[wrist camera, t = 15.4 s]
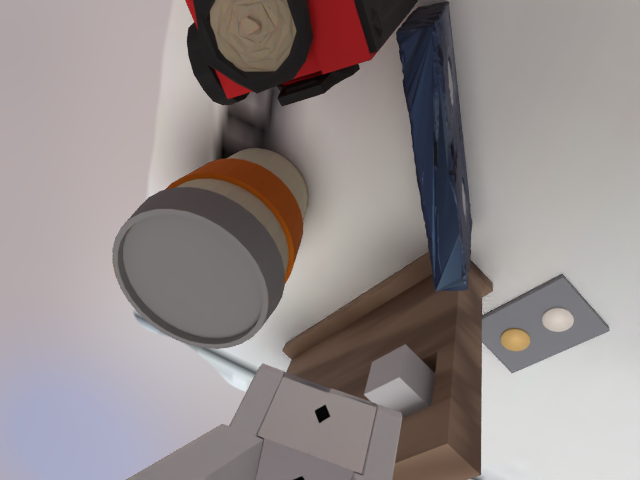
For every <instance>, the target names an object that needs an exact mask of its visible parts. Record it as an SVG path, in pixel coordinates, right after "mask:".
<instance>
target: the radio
mask: <svg viewBox="0 0 640 480" xmlns="http://www.w3.org/2000/svg"><path fill="white" fill-rule="evenodd" d="M185 1H186V3H187V6H188V8H189V10H190V13H191V15H192V17H193V20H194V23H193V24H192V25H191V26H190V27H189V28H188V36H187V47H188V55H189V59H190V63H191V66H192V69H193V73H194V75H195V77H196V78H197V80H198V82H199V83H200V85H201V87H202V88H203V90H204V91H205V92H206V93H207V95H208V96H209V97H210V98H211V99H212V101H214V102H216V103H219V104H221V105H232V104H234V103H236V102H239V101H241V100H243V99H245V98H246V97H247V95H248V94H249V93H250V92H256V93H259V92H262V91H264V90H267V89H269V88H272V87H274V86H277V87H278V88H279V90H280V91H281V92H280V94H279V96H278V100H279V102H280V104H281V106H285V105H288V104H291V103H294V102H298V101H301V100H304V99H307V98H311V97H314V96H317V95H320V94H324V93H325V92H326V91H327V90H329V89H330V88H331V87H332V86H334V85H335V84H337V83H339V82H340V81H342V80H344V79H346V78H348V77H350V76H351V75H353V74H354V73H355V72H357V71H358V70H359V65H358V64H359V63H362V62H365V61H369V60H371V59H372V58H373V57H374V56H375V54H376V53H377V52H378V51H379V49H380V48H381V47H382V46H383V44H384V43H385V42H386V41H387V39H388V38H389V37H390V36H391V34H392V33H393V32H394V31H395V29H396V28H397V27H398V26H399V24H400V23H401V22H402V21H403V19H404V18H405V17H406V16H407V14H408V13H409V12H410V11H411V9H412V8H413V7H414V6H415V4H416V3H417V2H418V0H185Z"/></svg>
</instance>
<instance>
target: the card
mask: <svg viewBox="0 0 640 480" xmlns="http://www.w3.org/2000/svg"><path fill="white" fill-rule="evenodd" d="M608 331H610V330H609V327H608V326H607V325H606V324H605V322H604V321H603V320H602V319H601V318H600V317H599V316H598V314H597V313H596V312H595V311H594V310H593V309H592V308H591V306H590V305H589V304H588V303H587V302H586V301H585V300H584V298H583V297H582V296H581V295H580V294H579V293H578V292H577V290H576V289H575V288H574V287H573V286H572V285H571V284H570V282H569V281H568V280H567V279H566V278H565V277H564V276H563V274H562V275H560V276H558V277H556V278H554V279H552V280H551V281H549V282H547V283H545V284H543V285H541V286H539V287H537V288H535V289H533V290H531V291H529V292H528V293H526V294H524V295H522V296H520V297H518V298H516V299H514V300H512V301H510V302H508V303H506V304H504V305H503V306H501V307H499V308H497V309H495V310H493V311H491V312H489V313H487V314H485V315H483V316H482V342H483V344H484V345H485V346H486V347H487V348H488V349H489V350H490V351H491V352H492V353H493V354H494V355H495V356H496V357H497V358H498V359H499V360H500V361H501V362H502V363H503V364H504V365H505V366H506V367H507V368H508V369H509V371H510V372H511V373H514V372H516V371H519V370H521V369H523V368H526V367H528V366H530V365H532V364H535V363H537V362H539V361H542V360H544V359H546V358H548V357H551V356H553V355H555V354H558V353H560V352H562V351H565V350H567V349H569V348H571V347H574V346H576V345H578V344H581V343H583V342H585V341H588V340H590V339H592V338H594V337H597V336H599V335H601V334H604V333H606V332H608Z"/></svg>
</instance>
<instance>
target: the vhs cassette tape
mask: <svg viewBox="0 0 640 480" xmlns="http://www.w3.org/2000/svg"><path fill="white" fill-rule="evenodd" d="M396 38H397V42H398V44H399V48H400V50H399V53H400V59H401V62H402V66H403V69H402V72H403V74H404V79H403V87H404V93H405V97H406V103H407V108H408V112H409V118H410V124H411V134H412V142H413V151H414V161H415V165H416V175H417V182H418V187H419V191H420V196H421V208H422V212H423V217H424V221H425V223H426V224H425V228H426V235H427V238H428V248H429V252H430V261H431V265H432V273H433V285H434V288H435V292H436V291H440V290H441V291H462V290H467V289H468V273H469V266H470V254H471V249H470V247H471V230H472V219H471V213H470V203H469V190H468V182H467V172H466V161H465V153H464V144H463V134H462V125H461V115H460V105H459V96H458V86H457V76H456V67H455V58H454V49H453V40H452V30H451V22H450V13H449V3H448V2H444V3H439V4H434V5H431V6H430V5H429V6H424V7H418V8H417V9H416V10H415V11H413V12H412V14H411V15H410V16H409V17H408V19H407V20H406V21H405V22H404V23H403V24H402V27H400V28H399V29H398V30H397V32H396Z"/></svg>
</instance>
